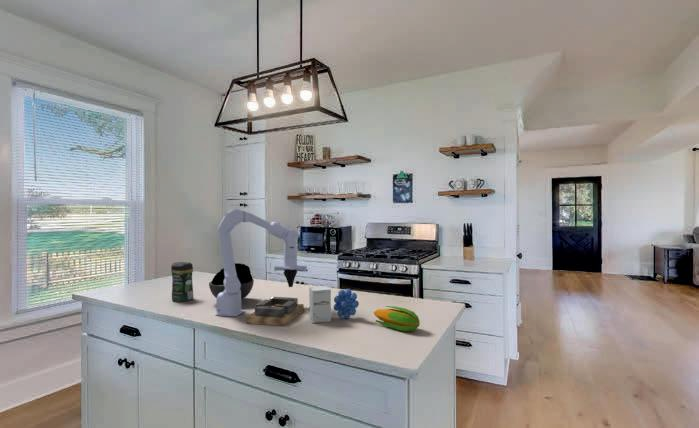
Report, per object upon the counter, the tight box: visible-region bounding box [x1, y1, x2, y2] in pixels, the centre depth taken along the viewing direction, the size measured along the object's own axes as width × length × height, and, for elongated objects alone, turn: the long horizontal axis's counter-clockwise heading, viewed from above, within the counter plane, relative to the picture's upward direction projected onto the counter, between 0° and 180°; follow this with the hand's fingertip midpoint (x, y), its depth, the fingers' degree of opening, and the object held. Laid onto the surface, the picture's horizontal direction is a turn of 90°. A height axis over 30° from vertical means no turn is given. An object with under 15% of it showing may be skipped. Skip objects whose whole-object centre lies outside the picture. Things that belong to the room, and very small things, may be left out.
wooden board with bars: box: [245, 299, 305, 327], centre depth 140 cm, size 16×20×6 cm
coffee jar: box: [170, 261, 194, 302], centre depth 168 cm, size 10×8×19 cm
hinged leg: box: [269, 296, 299, 306], centre depth 147 cm, size 12×3×3 cm, turn 75°
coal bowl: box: [208, 260, 255, 301], centre depth 162 cm, size 20×20×19 cm
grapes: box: [333, 288, 360, 320], centre depth 137 cm, size 12×7×12 cm, turn 58°
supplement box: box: [308, 285, 332, 324], centre depth 135 cm, size 7×7×13 cm
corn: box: [373, 305, 421, 333], centre depth 126 cm, size 7×8×20 cm
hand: (290, 286), depth 154 cm, fingers closed
